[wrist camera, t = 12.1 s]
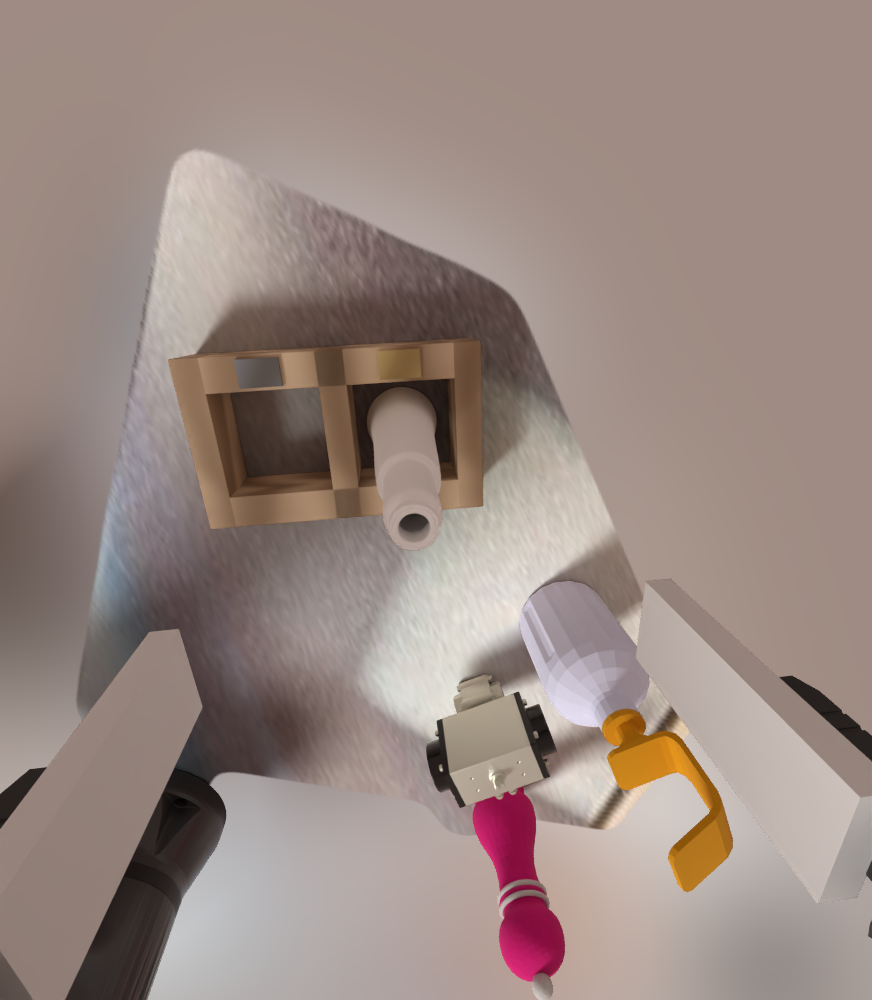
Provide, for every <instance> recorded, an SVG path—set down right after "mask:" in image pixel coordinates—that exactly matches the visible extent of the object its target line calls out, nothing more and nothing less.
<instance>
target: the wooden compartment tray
mask: <svg viewBox="0 0 872 1000" xmlns="http://www.w3.org/2000/svg"><path fill="white" fill-rule="evenodd" d="M168 363H169V367H170V371H171V375H172V378H173V382H174V386H175V390H176V394H177V398H178V402H179V406H180V410H181V414H182V418H183V422H184V426H185V430H186V434H187V437H188V441H189V445H190V449H191V453H192V457H193V461H194V465H195V469H196V473H197V477H198V481H199V485H200V489H201V493H202V496H203V500H204V504H205V508H206V512H207V516H208V520H209V524H210V528H211V529H217V528H229V527H241V526H253V525H265V524H277V523H289V522H301V521H312V520H324V519H336V518H348V517H360V516H372V515H383V500H382V499H381V497H380V495H379V493H378V490H377V485H376V477H375V468H363V469H362V465H361V456H360V447H359V439H358V430H357V421H356V413H355V404H354V395H353V387H352V385H356V384H371V383H386V382H402V381H417V380H433V379H447V383H448V408H449V432H450V456H451V462H441V463H439V465H440V473H441V488H440V491H439V494H438V496H439V499H440V503H441V507H442V510H444V509H456V508H468V507H480V506H483V458H482V391H481V341H479V340H475V339H472V338H462V339H445V340H428V341H411V342H394V343H377V344H360V345H343V346H326V347H309V348H292V349H275V350H258V351H241V352H224V353H207V354H194V355H189V356H184V357H179V358H174V359H169V360H168ZM309 387H319V393H320V400H321V407H322V414H323V421H324V429H325V436H326V443H327V450H328V457H329V464H330V471H324V472H311V473H298V474H285V475H272V476H259V477H248V476H247V472H246V467H245V462H244V458H243V453H242V448H241V443H240V439H239V434H238V429H237V425H236V420H235V415H234V410H233V406H232V401H231V396H230V393H232V392H247V391H263V390H278V389H294V388H309Z"/></svg>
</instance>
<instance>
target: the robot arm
mask: <svg viewBox="0 0 872 1000" xmlns="http://www.w3.org/2000/svg"><path fill="white" fill-rule="evenodd" d="M636 659H637V660H638V662H639V663H640V664H641V666H642V667H643V668H644V670H645V671H646V673H647V674H648V675H649V677H650V678H651V679H652V681H653V682H654V683H655V685H656V686H657V687H658V689H659V690H660V691H661V693H662V694H663V695H664V697H665V698H666V700H667V701H668V702H669V704H670V705H671V706H672V708H673V709H674V710H675V712H676V713H677V714H678V716H679V717H680V718H681V720H682V721H683V723H684V724H685V725H686V727H687V728H688V729H689V731H690V732H691V733H692V735H693V736H694V737H695V739H696V740H697V741H698V743H699V744H700V745H701V747H702V748H703V749H704V751H705V752H706V754H707V755H708V756H709V757H710V759H711V760H712V762H713V763H714V764H715V766H716V767H717V768H718V770H719V771H720V772H721V774H722V775H723V776H724V778H725V779H726V781H727V782H728V783H729V784H730V786H731V787H732V789H733V790H734V791H735V793H736V794H737V795H738V797H739V798H740V799H741V801H742V802H743V803H744V805H745V806H746V808H747V809H748V810H749V812H750V813H751V814H752V816H753V817H754V818H755V820H756V821H757V822H758V824H759V825H760V826H761V828H762V829H763V830H764V832H765V833H766V835H767V836H768V837H769V839H770V840H771V841H772V843H773V844H774V845H775V847H776V848H777V849H778V851H779V852H780V853H781V855H782V856H783V858H784V859H785V860H786V862H787V863H788V864H789V866H790V867H791V868H792V869H793V871H794V872H795V874H796V875H797V876H798V878H799V879H800V880H801V882H802V883H803V884H804V886H805V887H806V888H807V890H808V891H809V893H810V894H811V895H812V897H813V898H814V899H815V901H816V902H817V903H818V904H822V903H828V902H834V901H840V900H846V899H853V898H857V897H858V895H859V892H860V890H861V888H862V886H863V884H864V881H865V879H866V877H867V876H868V877H869V879H870V880H871V881H872V736H871V735H870V734H869V733H868V732H866V731H865V730H861V728H860V725H858V724H857V723H856V722H855V721H854V720H853V719H851V718H850V717H849V716H848V715H847V714H843V713H842V710H841V709H840V708H839V707H837V706H836V705H835V704H834V703H833V702H832V701H830V700H829V699H828V698H827V697H826V696H825V695H823V694H822V693H821V692H820V691H818V690H817V689H815V688H813V687H811V686H809V685H807V684H806V683H804V682H802V681H801V680H799V679H797V678H795V677H793V676H786V677H778V676H777V675H776V674H775V673H774V672H773V671H772V670H770V669H769V668H768V667H767V666H766V665H765V664H764V663H763V662H761V661H760V660H759V659H758V658H757V657H756V656H755V655H754V654H753V653H752V652H750V651H749V650H748V649H747V648H746V647H745V646H744V645H743V644H742V643H741V642H740V641H738V640H737V639H736V638H735V637H734V636H733V635H732V634H731V633H730V632H729V631H727V630H726V629H725V628H724V627H723V626H722V625H721V624H720V623H719V622H717V621H716V620H715V619H714V618H713V617H712V616H711V615H710V614H709V613H707V611H705V610H704V609H703V608H702V607H701V606H700V605H699V604H698V603H697V602H696V601H694V600H693V599H692V598H691V597H690V596H689V595H688V594H687V593H686V592H685V591H683V590H682V589H681V588H680V587H679V586H678V585H676V583H675V582H673V581H672V580H671V579H663V580H654V581H645V588H644V596H643V603H642V611H641V619H640V627H639V634H638V642H637V650H636ZM202 708H203V707H202V703H201V700H200V697H199V693H198V690H197V687H196V684H195V680H194V677H193V674H192V670H191V667H190V664H189V661H188V657H187V654H186V651H185V647H184V644H183V641H182V638H181V634H180V631H179V629H173V630H163V631H153V632H149V633H148V634H147V636H146V637H145V638H144V640H143V641H142V642H141V644H140V645H139V646H138V648H137V649H136V650H135V652H134V653H133V654H132V656H131V657H130V658H129V660H128V661H127V662H126V664H125V665H124V666H123V668H122V669H121V670H120V671H119V673H118V674H117V675H116V677H115V678H114V679H113V681H112V682H111V683H110V685H109V686H108V687H107V689H106V690H105V691H104V693H103V694H102V695H101V697H100V698H99V699H98V701H97V702H96V703H95V705H94V706H93V707H92V709H91V710H90V711H89V713H88V714H87V715H86V716H85V718H84V719H83V720H82V722H81V723H80V725H79V726H78V727H77V728H76V730H75V731H74V732H73V734H72V735H71V736H70V738H69V739H68V740H67V742H66V743H65V745H64V746H63V747H62V748H61V750H60V751H59V752H58V754H57V755H56V756H55V758H54V759H53V760H52V761H51V763H50V764H49V765H48V767H45V768H37V769H30V770H28V771H27V772H26V773H25V774H24V775H22V776H21V777H20V778H19V779H18V780H17V781H15V782H14V783H13V784H12V785H11V786H10V787H8V788H7V789H6V790H4V791H3V792H2V793H1V794H0V1000H147V999H148V995H149V993H150V990H151V987H152V984H153V981H154V979H155V975H156V973H157V970H158V967H159V964H160V961H161V958H162V955H163V953H164V950H165V947H166V944H167V941H168V938H169V935H170V932H171V929H172V926H173V924H174V921H175V918H176V915H177V912H178V909H179V906H180V904H181V901H182V898H183V896H184V895H185V893H186V892H187V890H188V889H189V888H190V886H191V885H192V883H193V882H194V880H195V879H196V877H197V876H198V874H199V873H200V871H201V870H202V868H203V867H204V865H205V863H206V862H207V860H208V859H209V857H210V856H211V855H212V853H213V852H214V850H215V848H216V847H217V845H218V842H219V840H220V837H221V834H222V831H223V828H224V824H225V821H226V809H225V805H224V803H223V801H222V799H221V797H220V796H219V794H218V793H217V792H216V791H215V790H214V789H213V788H212V787H211V786H210V785H209V784H207V783H206V782H204V781H203V780H201V779H199V778H197V777H195V776H193V775H191V774H188V773H185V772H182V771H179V770H175V769H174V767H175V765H176V763H177V761H178V759H179V757H180V755H181V752H182V750H183V748H184V746H185V744H186V742H187V740H188V738H189V735H190V733H191V731H192V729H193V727H194V725H195V723H196V721H197V718H198V716H199V714H200V712H201V710H202ZM868 936H869V937H871V938H872V921H871V923H870V927H869V934H868Z"/></svg>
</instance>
